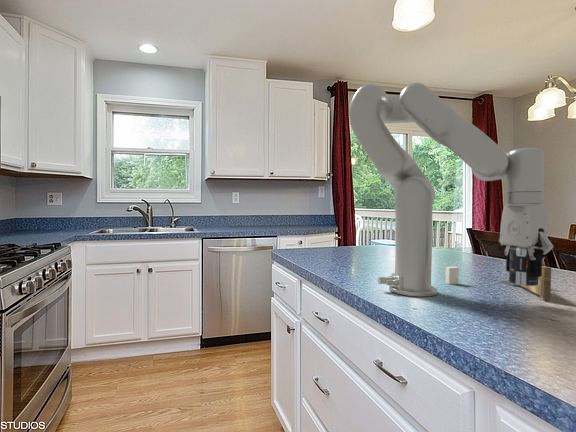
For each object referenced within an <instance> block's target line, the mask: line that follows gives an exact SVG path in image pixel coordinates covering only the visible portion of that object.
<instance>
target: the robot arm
mask: <svg viewBox="0 0 576 432" xmlns="http://www.w3.org/2000/svg"><path fill="white" fill-rule="evenodd" d="M348 114H349V115H348V117H349V119H348V120H349V122H350V126H351V130H352V131H353V134H354V136H355V137H356V139H357V141H358V142H359V144H360V146H361V147H362V149H363V150H364V151H365V153H366V154H367V156H368V157H369V159H370V161H371V162H372V163H373V165H374V167H375V168H376V170H377V172H378V174H379V175H380V176H381V177H382V178H385V179H386V180H387V181H388V183H389V184H390V186H392V188H393V190H394V191H395V193H394V212H395V242H394V243H395V247H394V251H395V252H394V253H395V254H394V272H391V275H389V276H386V277H385V276H378V277H377V283H378V285H386V286H388V290H389V291H390V292H391V293H394V294H398V295H402V296H407V297H408V296H409V297H421V298H422V297H423V298H424V297H432V296H436V295H437V294H438V288H437V287H435V286H432V266H433V265H432V262H433V259H432V257H433V256H432V255H433V203H434V202H435V198H436V191H435V188H434V186H433V185H432V183H431V182H430V181H429V179H428V178H427V177H426V175H425V174H424V172H423V171H422V169H421V168H420V167H419V165H418V164H417V163H416V161H415V160H414V158H413V156H411V155H410V154H409V153H408V151H406V150H405V149H404V148H403V147H402V146H401V145H400V144H399V142H397V140H396V139H395V137H394V136H393V135H392V133H391V132H390V130H389V129H388V127H387V126H386V125H385V124H405V123H415V124H416V125H417V126H418V127H419V128H420V129H421V130H423V132H425V133H426V134H427V135H428V136H429V138H431V139H432V140H433V141H434V142H436V143H438V144H439V145H441V146H444V147H446V148H447V149H449V150H450V151H451V152H453V153H454V154H455V155H457V157H458V158H460V159H461V161H463V162H464V163H465V164H467V166H468V167H470V168H471V171H472V174H473V176H474V177H475V178H476V179H478V180H479V181H484V182H490V181H491V182H492V181H499V180H505V181H506V183H505V184H506V185H505V188H506V189H505V205H504V206H503V209H502V214H501V220H500V230H499V238H498V243H499V244H500V245H501V247H502V249H503V251H504V256H505V257H506V259H505V262H506V263H505V264H506V265H505V267H506V268H505V271H506V272H508V273H509V262H510V248H511V247H512V246H516V247H523V248H527V250H528V253H529V257H530V259H531V260H528V269H527V275H528V277H541V276H542V267H543V261H544V260H545V257H546V256H548V254H549V253H550V251H551V250H553V248H554V245H553V243H552V242H551V240H550V239H549V238H548V236H549V235H548V230H549V229H548V218H547V212H546V207H545V205H544V191H545V190H544V184H545V183H544V179H545V154H544V153H545V152H544V151H543V149H541V148H538V147H521V148H515V149H512V150H509V152H506V151H505V150H504V149H503V148H502V147H501V146H500V145H498V144H497V143H496V142H495V141H494V140H493V139H492V138H491V137H489V136H488V135H487V134H486V133H485V132H483V131H482V129H479V128H478V127H477V126H476V125H474V124H473V123H472V122H470V121H468V120H467V119H466V118H464V116H462V115H461V114H459V112H457V111H456V110H454V109H453V108H452V107H451V106H450V105H449V104H448V103H446V102H445V100H443V99H441V97H440V96H438V95H437V94H436V93H435V92H433V91H432V90H431V89H430V88H429V87H427V86H426V85H425V84H423V83H421V82H420V83H419V82H413V83H410V84H408V85H406V86H405V87H404V88H403V89H402V90H401V92H400V94H394V95H391V94H390V95H388V94H387V93H386V91H385V90H384V89H383V88H382V87H381V86H378V85H376V84H374V83H373V84H372V83H368V84H365V85H362V86H360V87H359V88H358V89H357V91H356V92H355V93H354V95H353V97H352V99H351V101H350V105H349V112H348ZM533 245H534V246H533ZM534 250H536V251H537V252H536V253H535V252H534Z"/></svg>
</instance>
